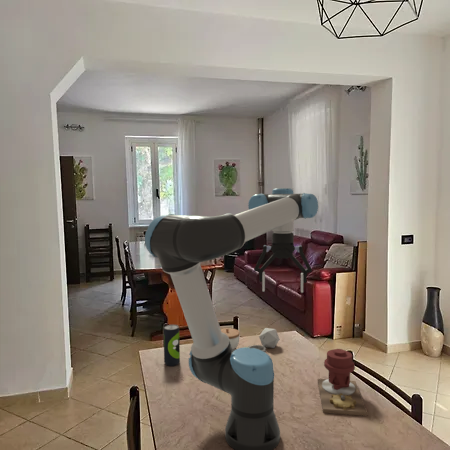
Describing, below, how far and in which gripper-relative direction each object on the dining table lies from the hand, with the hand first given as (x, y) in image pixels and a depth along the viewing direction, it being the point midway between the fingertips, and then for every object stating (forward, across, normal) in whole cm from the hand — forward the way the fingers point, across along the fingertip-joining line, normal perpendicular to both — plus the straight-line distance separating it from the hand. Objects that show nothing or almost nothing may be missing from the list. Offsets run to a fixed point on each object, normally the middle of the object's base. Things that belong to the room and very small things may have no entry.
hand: (282, 291), depth 138 cm
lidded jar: (+33, +24, -25) cm, 48 cm away
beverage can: (+33, +44, -8) cm, 56 cm away
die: (+33, +6, -31) cm, 46 cm away
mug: (+33, +11, -13) cm, 37 cm away
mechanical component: (+31, -19, +6) cm, 37 cm away
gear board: (+33, -19, +10) cm, 39 cm away
